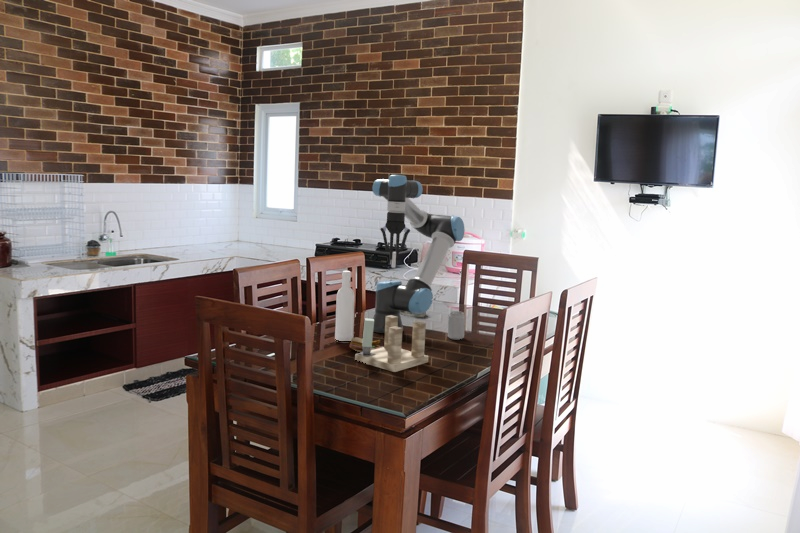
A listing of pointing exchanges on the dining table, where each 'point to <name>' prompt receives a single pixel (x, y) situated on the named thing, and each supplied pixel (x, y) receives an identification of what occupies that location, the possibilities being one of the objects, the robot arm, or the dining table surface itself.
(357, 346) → the toy sandwich meal
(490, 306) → the dining table surface
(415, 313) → the ceramic cottage
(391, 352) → the stool
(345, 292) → the bottle
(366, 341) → the hinged leg
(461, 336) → the can
